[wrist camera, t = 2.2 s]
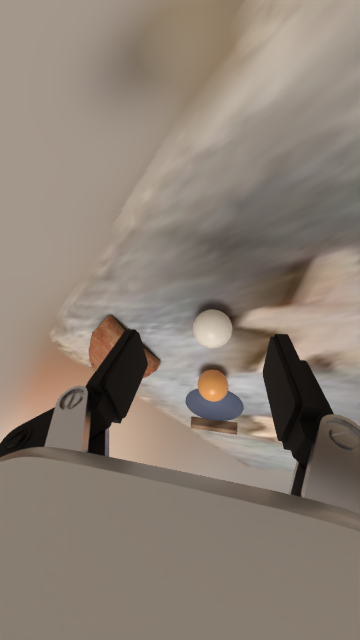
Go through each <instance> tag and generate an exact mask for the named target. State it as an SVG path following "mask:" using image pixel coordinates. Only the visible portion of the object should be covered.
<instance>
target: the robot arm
mask: <svg viewBox="0 0 360 640" xmlns="http://www.w3.org/2000/svg"><path fill="white" fill-rule="evenodd" d="M147 366H148V361H147V358H146V355H145V351H144V348H143V345H142V341H141V338H140V334H139V332H137V331H136V330H132V329H126V330H125V331H124V332H123V334H122V335H121V337H120V338H119V339H118V341H117V342H116V344H115V345H114V346H113V348H112V349H111V351H110V352H109V353H108V355H107V356H106V358H105V359H104V360H103V362H102V363H101V365H100V366H99V367H98V369H97V370H96V372H95V373H94V374H93V376H92V377H91V379H90V380H89V381H88V384H87V385H86V386H85V387H84V386H76V387H73V388H71V389H69V390H67V391H66V392H65V393H63V394H62V395H61V396H60V398H59V399H58V401H57V403H56V406H55V407H54V408H52V409H51V410H49V411H47V412H45V413H43V414H41V415H39V416H37V417H35V418H33V419H32V420H30V421H28V422H26V423H24V424H22V425H20V426H18V427H17V428H15V429H14V430H12V431H11V432H10V433H9V434H8V435H7V436H6V437H5V438H4V439H3V441H2V442H1V443H0V640H360V426H359V425H358V424H356V423H355V422H353V421H352V420H350V419H348V418H346V417H343V416H340V415H334V413H333V411H332V409H331V407H330V405H329V403H328V401H327V399H326V398H325V396H324V394H323V392H322V390H321V388H320V386H319V384H318V382H317V380H316V378H315V376H314V374H313V372H312V370H311V368H310V366H309V365H308V363H307V362H306V361H303V360H300V359H299V357H298V355H297V353H296V350H295V348H294V346H293V344H292V342H291V340H290V338H289V336H288V335H287V334H275V335H274V337H270V341H269V346H268V350H267V355H266V359H265V364H264V368H263V378H264V382H265V386H266V391H267V395H268V400H269V404H270V408H271V413H272V417H273V421H274V426H275V430H276V434H277V438H278V440H279V441H282V443H283V447H284V449H286V450H291V452H292V456H293V457H294V458H295V459H296V460H297V463H296V467H295V471H294V474H293V478H292V482H291V485H290V490H289V493H288V494H285V493H281V492H277V491H272V490H268V489H263V488H258V487H253V486H248V485H244V484H239V483H234V482H229V481H225V480H219V479H215V478H210V477H206V476H201V475H195V474H191V473H186V472H181V471H176V470H171V469H166V468H162V467H157V466H151V465H146V464H141V463H137V462H132V461H127V460H122V459H116V458H112V457H109V427H110V425H111V423H112V422H114V423H121V421H122V418H125V417H126V415H127V413H128V410H129V408H130V406H131V403H132V401H133V399H134V397H135V394H136V392H137V390H138V387H139V385H140V383H141V380H142V378H143V376H144V373H145V371H146V369H147Z"/></svg>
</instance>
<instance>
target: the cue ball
mask: <svg viewBox="0 0 360 640" xmlns="http://www.w3.org/2000/svg"><path fill="white" fill-rule="evenodd" d="M193 333H194V336H195V338H196V340H197V341H198V342H199V343H200V344H201V345H203V346H205V347H208V348H218V347H221V346H223V345H224V344H226V343H227V342H228V340H229V339H230V337H231V334H232V324H231V321H230V319H229V318H228V316H227V315H226V314H224V313H223V312H221V311H219V310H214V309H211V310H206V311H204V312H202V313H200V314H199V315H198V316H197V318H196V319H195V321H194V324H193Z"/></svg>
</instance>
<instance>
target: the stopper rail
mask: <svg viewBox="0 0 360 640" xmlns="http://www.w3.org/2000/svg"><path fill="white" fill-rule="evenodd" d="M191 428H195V429H202V430H209V431H216V432H222V433H229V434H236V435H237V423H234V422H226V421H215V420H209V419H204V418H197V417H192V419H191Z"/></svg>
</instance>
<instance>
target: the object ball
mask: <svg viewBox="0 0 360 640" xmlns="http://www.w3.org/2000/svg"><path fill="white" fill-rule="evenodd" d="M198 390H199V392H200V394H201V395H202V397H203V398H205V399H206V400H208V401H212V402H216V401H220V400H222V399H223V398H224V397H225V396H226V394H227V392H228V381H227V379H226V377H225V376H224V375H223V374H222V373H221V372H220V371H218V370H213V369H212V370H207V371H205V372H203V373H202V374H201V375H200V377H199V379H198Z"/></svg>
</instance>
